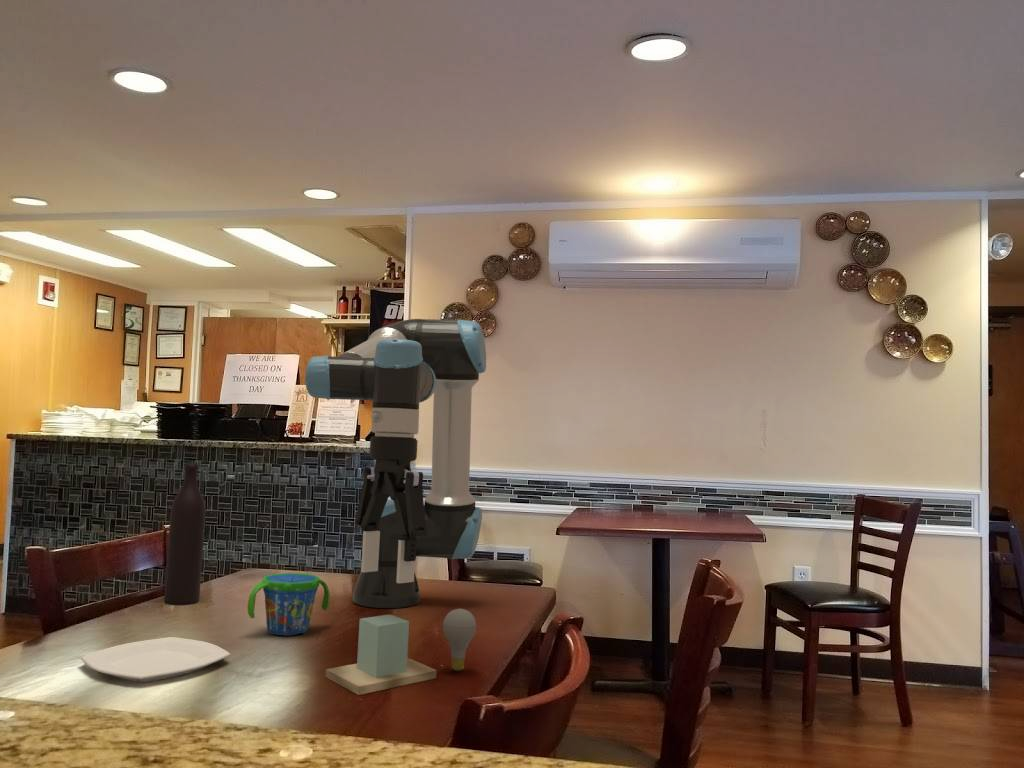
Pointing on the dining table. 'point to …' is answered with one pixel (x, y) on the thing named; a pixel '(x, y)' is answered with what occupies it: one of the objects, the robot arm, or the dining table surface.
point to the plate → (155, 658)
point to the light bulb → (459, 634)
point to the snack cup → (288, 601)
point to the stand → (367, 683)
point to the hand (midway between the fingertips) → (386, 576)
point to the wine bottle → (185, 542)
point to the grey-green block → (382, 645)
